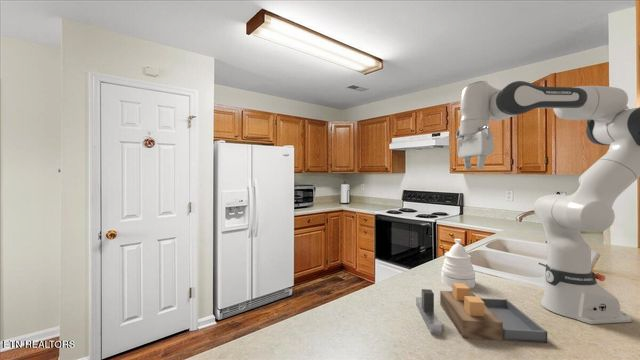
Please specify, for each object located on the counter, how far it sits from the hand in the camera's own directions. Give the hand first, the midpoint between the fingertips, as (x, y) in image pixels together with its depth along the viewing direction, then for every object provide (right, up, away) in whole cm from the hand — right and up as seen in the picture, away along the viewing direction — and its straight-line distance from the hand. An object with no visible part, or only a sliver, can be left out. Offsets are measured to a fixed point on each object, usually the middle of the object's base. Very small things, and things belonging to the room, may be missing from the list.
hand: (473, 169), depth 97 cm
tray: (+4, -48, -10) cm, 49 cm away
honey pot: (+5, -48, +22) cm, 53 cm away
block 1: (-7, -43, -4) cm, 44 cm away
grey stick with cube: (-19, -48, -8) cm, 53 cm away
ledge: (-7, -48, -9) cm, 49 cm away
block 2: (-8, -43, -14) cm, 46 cm away
